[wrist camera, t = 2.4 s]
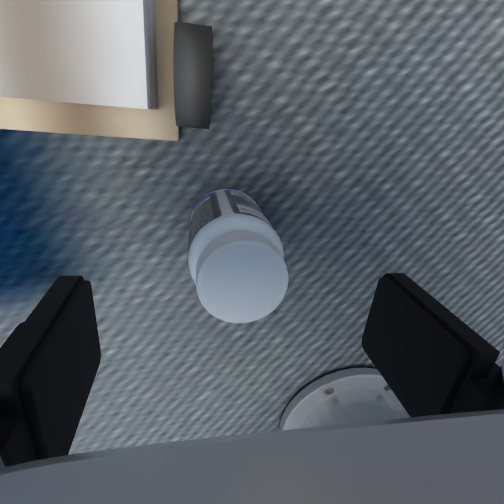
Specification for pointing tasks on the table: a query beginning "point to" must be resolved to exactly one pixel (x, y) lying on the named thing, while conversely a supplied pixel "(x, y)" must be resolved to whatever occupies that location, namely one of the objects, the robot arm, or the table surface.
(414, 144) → the table surface
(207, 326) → the table surface
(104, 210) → the table surface
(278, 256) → the pill bottle
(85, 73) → the toy car chassis
